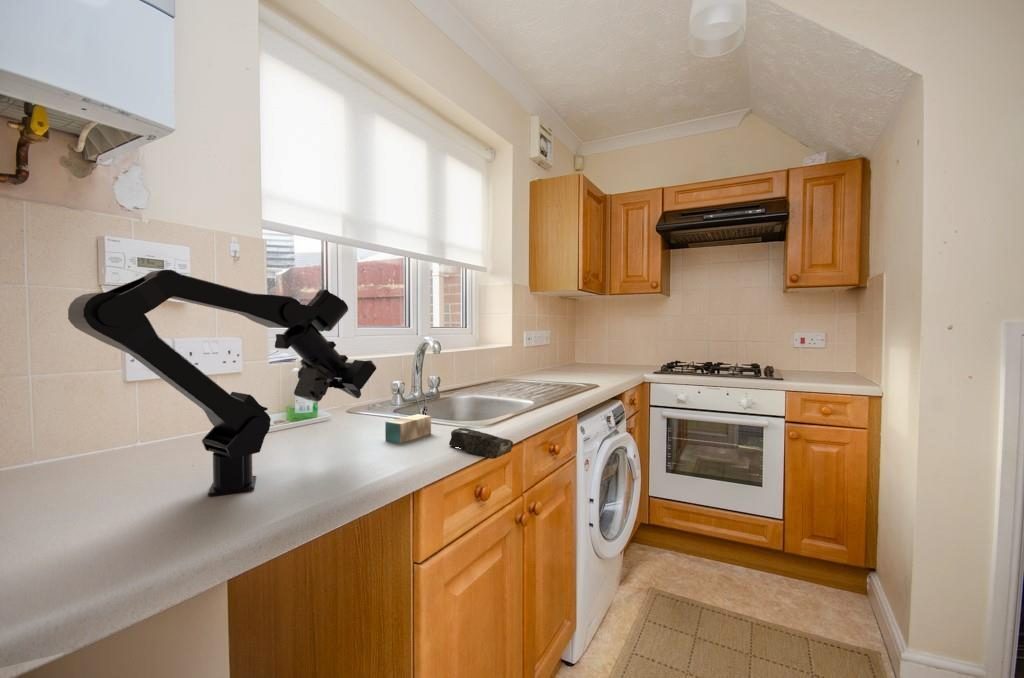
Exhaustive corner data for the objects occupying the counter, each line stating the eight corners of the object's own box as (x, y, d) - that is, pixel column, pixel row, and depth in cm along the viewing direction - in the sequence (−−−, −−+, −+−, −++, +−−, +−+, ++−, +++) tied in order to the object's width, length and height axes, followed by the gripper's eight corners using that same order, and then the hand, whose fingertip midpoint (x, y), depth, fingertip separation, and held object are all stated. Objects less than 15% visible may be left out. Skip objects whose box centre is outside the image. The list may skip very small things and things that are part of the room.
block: (398, 424, 106) (431, 416, 115) (385, 421, 109) (417, 414, 118) (398, 443, 106) (430, 433, 116) (385, 440, 109) (417, 431, 118)
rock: (498, 461, 94) (499, 441, 94) (441, 449, 102) (441, 430, 102) (518, 452, 101) (519, 433, 101) (463, 441, 109) (463, 424, 109)
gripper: (258, 376, 90) (308, 421, 99) (317, 383, 80) (367, 433, 90) (295, 335, 96) (339, 382, 106) (354, 338, 86) (396, 389, 96)
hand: (358, 396), depth 99 cm, fingers closed
